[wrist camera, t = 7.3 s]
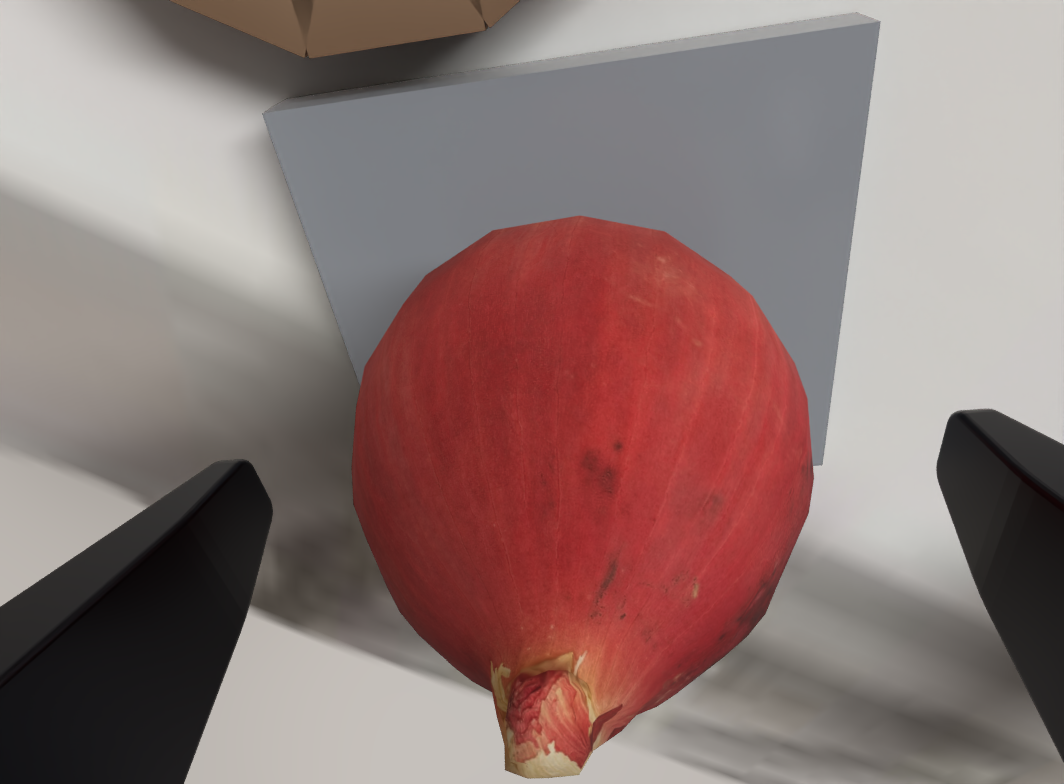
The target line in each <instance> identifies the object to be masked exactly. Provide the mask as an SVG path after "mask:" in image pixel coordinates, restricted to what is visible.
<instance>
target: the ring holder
mask: <svg viewBox="0 0 1064 784" xmlns="http://www.w3.org/2000/svg"><path fill="white" fill-rule="evenodd" d="M169 1H171V2H174V3H176V4H179V5H181V6H183V7H186V8H188V9H190V10H193V11H195V12H197V13H200V14H202V15H204V16H207V17H209V18H211V19H214V20H216V21H219V22H221V23H223V24H226V25H228V26H230V27H233V28H235V29H237V30H240V31H242V32H244V33H247V34H249V35H252V36H254V37H256V38H259V39H261V40H263V41H266V42H268V43H270V44H273V45H275V46H277V47H280V48H282V49H284V50H287V51H289V52H292V53H294V54H296V55H299V56H301V57H303V58H305V57H307V56H309V59H310V58H316V57H323V56H329V55H335V54H341V53H348V52H354V51H360V50H366V49H373V48H379V47H385V46H391V45H398V44H404V43H410V42H416V41H423V40H429V39H435V38H441V37H448V36H454V35H460V34H466V33H473V32H479V31H485V30H486V29H487V28H488V27H489V28H491V27H492V26H493V25H494V24H495V23H496V22H497V21H498V20H499V19H500V18H501V17H503V16H504V15H505V14H506V13H507V12H508V11H509V10H510V9H511V8H512V7H513V6H515V5H516V4H517V3H518V2H519V1H520V0H169Z"/></svg>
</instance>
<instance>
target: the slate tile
mask: <svg viewBox="0 0 1064 784" xmlns="http://www.w3.org/2000/svg"><path fill="white" fill-rule="evenodd" d="M879 29H880V21H878V20H876V19H873V18H870V17H868V16H865V15H862V14H860V13H857V12H856V13H850V14H843V15H837V16H830V17H823V18H817V19H810V20H803V21H797V22H790V23H784V24H777V25H770V26H764V27H757V28H751V29H744V30H737V31H731V32H724V33H718V34H711V35H704V36H698V37H691V38H685V39H678V40H671V41H665V42H658V43H652V44H645V45H638V46H632V47H625V48H619V49H612V50H605V51H599V52H592V53H586V54H579V55H572V56H566V57H559V58H553V59H546V60H539V61H533V62H526V63H520V64H513V65H506V66H500V67H493V68H487V69H480V70H473V71H467V72H460V73H454V74H447V75H440V76H434V77H427V78H421V79H414V80H407V81H401V82H394V83H388V84H381V85H374V86H368V87H361V88H355V89H348V90H341V91H335V92H328V93H322V94H315V95H308V96H302V97H295V98H289V99H285V100H283V101H282V102H280V103H278V104H277V105H275V106H273V107H272V108H270V109H269V110H267V111H265V112H264V113H262V115H263V117H264V120H265V123H266V126H267V129H268V131H269V134H270V137H271V140H272V143H273V145H274V148H275V151H276V154H277V156H278V159H279V162H280V165H281V168H282V170H283V173H284V176H285V179H286V182H287V184H288V187H289V190H290V193H291V195H292V198H293V201H294V204H295V207H296V209H297V212H298V215H299V218H300V221H301V223H302V226H303V229H304V232H305V234H306V237H307V240H308V243H309V246H310V248H311V251H312V254H313V257H314V259H315V262H316V265H317V268H318V271H319V273H320V276H321V279H322V282H323V285H324V287H325V290H326V293H327V296H328V298H329V301H330V304H331V307H332V310H333V312H334V315H335V318H336V321H337V324H338V326H339V329H340V332H341V335H342V337H343V340H344V343H345V346H346V349H347V351H348V354H349V357H350V360H351V363H352V365H353V368H354V371H355V374H356V376H357V379H358V382H359V385H360V386H361V382H362V377H363V372H364V367H365V365H366V363H367V362H368V360H369V358H370V357H371V355H372V354H373V352H374V350H375V349H376V347H377V345H378V344H379V342H380V341H381V339H382V337H383V336H384V334H385V333H386V331H387V329H388V328H389V326H390V324H391V323H392V321H393V320H394V318H395V316H396V315H397V313H398V311H399V310H400V308H401V307H402V305H403V304H404V302H405V301H406V300H407V298H408V297H409V296H410V295H411V293H412V292H413V291H414V289H415V288H416V287H417V286H418V284H419V283H420V282H421V281H422V279H423V278H424V277H425V275H427V274H428V273H430V272H431V271H433V270H434V269H436V268H437V267H439V266H440V265H442V264H443V263H445V262H446V261H448V260H449V259H451V258H452V257H454V256H455V255H457V254H458V253H460V252H461V251H463V250H464V249H465V248H467V247H468V246H470V245H471V244H473V243H474V242H476V241H477V240H479V239H480V238H482V237H483V236H485V235H486V234H488V233H489V232H491V231H492V230H497V229H503V228H509V227H515V226H521V225H527V224H532V223H538V222H544V221H550V220H556V219H562V218H568V217H574V216H586V217H591V218H596V219H602V220H607V221H612V222H618V223H623V224H628V225H634V226H639V227H644V228H649V229H655V230H660V231H665V232H667V233H668V234H670V235H671V236H672V237H674V238H675V239H677V240H678V241H680V242H681V243H683V244H684V245H686V246H687V247H689V248H690V249H692V250H693V251H695V252H696V253H697V254H699V255H700V256H702V257H703V258H705V259H706V260H708V261H709V262H711V263H712V264H714V265H715V266H717V267H718V268H719V269H721V270H722V271H724V272H725V273H727V274H728V275H730V276H731V277H732V278H733V279H734V280H735V281H736V282H738V283H739V284H740V285H741V286H742V287H743V288H744V289H745V290H747V291H748V292H749V293H750V294H751V295H752V296H753V297H754V299H755V300H756V302H757V304H758V305H759V307H760V308H761V310H762V312H763V313H764V315H765V316H766V318H767V320H768V321H769V323H770V324H771V326H772V328H773V329H774V331H775V332H776V334H777V336H778V337H779V339H780V340H781V342H782V344H783V345H784V347H785V348H786V350H787V352H788V353H789V355H790V356H791V358H792V359H793V361H794V363H795V365H796V368H797V371H798V374H799V376H800V379H801V382H802V385H803V387H804V390H805V393H806V396H807V399H808V411H809V424H810V437H811V449H812V462H813V466H818V465H822V464H823V456H824V448H825V441H826V433H827V426H828V418H829V410H830V403H831V395H832V387H833V380H834V372H835V365H836V357H837V349H838V342H839V334H840V326H841V319H842V311H843V303H844V296H845V288H846V281H847V273H848V265H849V258H850V250H851V242H852V235H853V227H854V220H855V212H856V204H857V197H858V189H859V181H860V174H861V166H862V158H863V151H864V143H865V136H866V128H867V120H868V113H869V105H870V97H871V90H872V82H873V75H874V67H875V59H876V52H877V44H878V36H879Z"/></svg>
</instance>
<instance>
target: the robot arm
mask: <svg viewBox="0 0 1064 784" xmlns="http://www.w3.org/2000/svg"><path fill="white" fill-rule="evenodd" d="M937 478H938V482H939V485H940V488H941V491H942V494H943V496H944V499H945V502H946V505H947V507H948V510H949V513H950V516H951V518H952V521H953V524H954V527H955V530H956V532H957V535H958V538H959V541H960V543H961V546H962V549H963V552H964V554H965V557H966V560H967V563H968V565H969V568H970V571H971V574H972V576H973V579H974V581H975V584H976V586H977V589H978V592H979V594H980V596H981V598H982V600H983V603H984V605H985V607H986V609H987V611H988V613H989V615H990V617H991V619H992V621H993V623H994V625H995V627H996V629H997V631H998V633H999V635H1000V637H1001V639H1002V641H1003V643H1004V645H1005V647H1006V649H1007V651H1008V653H1009V655H1010V657H1011V659H1012V661H1013V663H1014V665H1015V667H1016V669H1017V671H1018V673H1019V675H1020V677H1021V679H1022V681H1023V683H1024V685H1025V687H1026V689H1027V691H1028V693H1029V695H1030V697H1031V699H1032V701H1033V703H1034V704H1035V706H1036V708H1037V710H1038V712H1039V714H1040V716H1041V718H1042V720H1043V722H1044V724H1045V726H1046V728H1047V730H1048V732H1049V734H1050V736H1051V738H1052V740H1053V742H1054V744H1055V746H1056V748H1057V750H1058V752H1059V754H1060V756H1061V758H1062V760H1063V762H1064V445H1063V444H1061V443H1059V442H1057V441H1056V440H1054V439H1052V438H1050V437H1048V436H1046V435H1044V434H1042V433H1040V432H1038V431H1036V430H1034V429H1032V428H1030V427H1028V426H1026V425H1024V424H1022V423H1020V422H1018V421H1016V420H1014V419H1012V418H1010V417H1008V416H1006V415H1004V414H1002V413H1000V412H998V411H996V410H993V409H974V410H960V411H956V412H954V413H953V414H952V415H951V416H950V417H949V420H948V422H947V426H946V429H945V433H944V437H943V441H942V445H941V449H940V453H939V457H938V460H937ZM272 515H273V509H272V503H271V500H270V498H269V496H268V494H267V492H266V490H265V488H264V486H263V484H262V482H261V480H260V478H259V476H258V475H257V473H256V471H255V469H254V467H253V465H252V464H251V463H250V462H249V461H247V460H243V459H237V460H223V461H218V462H215V463H213V464H212V465H210V466H209V467H207V468H206V469H204V470H203V471H201V472H200V473H198V474H197V475H196V476H194V477H193V478H191V479H190V480H188V481H187V482H185V483H184V484H182V485H181V486H179V487H178V488H176V489H175V490H173V491H172V492H170V493H169V494H167V495H166V496H164V497H163V498H161V499H160V500H158V501H157V502H155V503H154V504H152V505H151V506H149V507H148V508H146V509H145V510H143V511H142V512H141V513H139V514H138V515H136V516H135V517H133V518H132V519H130V520H129V521H127V522H126V523H124V524H123V525H121V526H120V527H118V528H117V529H115V530H114V531H112V532H111V533H109V534H108V535H107V536H105V537H103V538H102V539H100V540H99V541H97V542H96V543H95V544H93V545H91V546H90V547H89V548H87V549H86V550H84V551H83V552H81V553H80V554H78V555H77V556H75V557H74V558H72V559H71V560H69V561H68V562H66V563H65V564H63V565H62V566H60V567H59V568H57V569H56V570H54V571H53V572H51V573H50V574H48V575H47V576H45V577H44V578H42V579H41V580H39V581H38V582H37V583H35V584H34V585H32V586H31V587H29V588H28V589H26V590H25V591H23V592H22V593H20V594H19V595H17V596H16V597H14V598H13V599H11V600H10V601H8V602H7V603H5V604H4V605H2V606H1V607H0V784H184V782H185V779H186V777H187V774H188V771H189V768H190V766H191V763H192V761H193V758H194V755H195V753H196V750H197V747H198V745H199V742H200V739H201V737H202V734H203V731H204V729H205V726H206V723H207V721H208V718H209V715H210V713H211V710H212V707H213V705H214V702H215V699H216V696H217V694H218V691H219V689H220V686H221V683H222V681H223V678H224V675H225V673H226V670H227V668H228V665H229V662H230V660H231V657H232V654H233V652H234V649H235V646H236V644H237V641H238V638H239V636H240V633H241V630H242V627H243V624H244V621H245V618H246V615H247V612H248V608H249V605H250V602H251V598H252V594H253V590H254V587H255V583H256V579H257V575H258V571H259V567H260V564H261V560H262V556H263V552H264V548H265V544H266V540H267V537H268V533H269V529H270V525H271V521H272Z"/></svg>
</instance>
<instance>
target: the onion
mask: <svg viewBox="0 0 1064 784" xmlns="http://www.w3.org/2000/svg"><path fill="white" fill-rule="evenodd" d="M813 480H814V474H813V462H812V449H811V437H810V424H809V411H808V399H807V396H806V393H805V390H804V387H803V385H802V382H801V379H800V376H799V374H798V371H797V368H796V365H795V363H794V361H793V359H792V358H791V356H790V355H789V353H788V352H787V350H786V348H785V347H784V345H783V344H782V342H781V340H780V339H779V337H778V336H777V334H776V332H775V331H774V329H773V328H772V326H771V324H770V323H769V321H768V320H767V318H766V316H765V315H764V313H763V312H762V310H761V308H760V307H759V305H758V304H757V302H756V300H755V299H754V297H753V296H752V295H751V294H750V293H749V292H748V291H747V290H745V289H744V288H743V287H742V286H741V285H740V284H739V283H738V282H736V281H735V280H734V279H733V278H732V277H731V276H730V275H728V274H727V273H725V272H724V271H722V270H721V269H719V268H718V267H717V266H715V265H714V264H712V263H711V262H709V261H708V260H706V259H705V258H703V257H702V256H700V255H699V254H697V253H696V252H695V251H693V250H692V249H690V248H689V247H687V246H686V245H684V244H683V243H681V242H680V241H678V240H677V239H675V238H674V237H672V236H671V235H670V234H668V233H667V232H665V231H660V230H655V229H649V228H644V227H639V226H634V225H628V224H623V223H618V222H612V221H607V220H602V219H596V218H591V217H586V216H574V217H568V218H562V219H556V220H550V221H544V222H538V223H532V224H527V225H521V226H515V227H509V228H503V229H497V230H492V231H491V232H489V233H488V234H486V235H485V236H483V237H482V238H480V239H479V240H477V241H476V242H474V243H473V244H471V245H470V246H468V247H467V248H465V249H464V250H463V251H461V252H460V253H458V254H457V255H455V256H454V257H452V258H451V259H449V260H448V261H446V262H445V263H443V264H442V265H440V266H439V267H437V268H436V269H434V270H433V271H431V272H430V273H428V274H427V275H425V277H424V278H423V279H422V281H421V282H420V283H419V284H418V286H417V287H416V288H415V289H414V291H413V292H412V293H411V295H410V296H409V297H408V298H407V300H406V301H405V302H404V304H403V305H402V307H401V308H400V310H399V311H398V313H397V315H396V316H395V318H394V320H393V321H392V323H391V324H390V326H389V328H388V329H387V331H386V333H385V334H384V336H383V337H382V339H381V341H380V342H379V344H378V345H377V347H376V349H375V350H374V352H373V354H372V355H371V357H370V358H369V360H368V362H367V363H366V365H365V367H364V372H363V377H362V382H361V386H360V391H359V396H358V401H357V406H356V416H355V429H354V443H353V456H352V485H353V504H354V507H355V510H356V512H357V515H358V518H359V521H360V523H361V526H362V529H363V532H364V534H365V537H366V539H367V542H368V544H369V546H370V549H371V551H372V553H373V555H374V558H375V560H376V562H377V565H378V567H379V569H380V572H381V574H382V576H383V579H384V581H385V583H386V585H387V588H388V590H389V592H390V594H391V596H392V597H393V599H394V601H395V603H396V605H397V607H398V609H399V611H400V613H401V614H402V615H403V616H404V618H405V619H406V620H407V621H408V622H409V624H410V625H411V626H412V627H413V628H414V630H415V631H416V632H417V633H418V634H419V636H421V637H422V638H423V639H424V640H425V641H426V642H427V643H428V644H429V645H430V646H432V647H433V648H434V649H435V650H436V651H437V652H438V653H439V654H440V655H441V656H443V657H444V658H445V659H446V660H447V661H448V662H449V663H450V664H451V665H452V666H454V667H455V668H456V669H457V670H458V671H460V672H461V673H462V674H464V675H465V676H466V677H468V678H469V679H470V680H471V681H473V682H475V683H476V684H478V685H480V686H482V687H484V688H485V689H487V690H489V691H491V692H492V694H493V699H494V704H495V709H496V714H497V718H498V722H499V726H500V730H501V733H502V737H503V741H504V745H505V770H506V771H509V772H512V773H514V774H517V775H520V776H522V777H525V778H552V777H563V776H573V775H579V774H580V772H581V771H582V769H583V767H584V766H585V763H586V762H587V760H588V759H589V757H590V755H591V754H592V752H593V750H595V749H596V748H598V747H599V746H601V745H602V744H603V743H605V742H606V741H608V740H609V739H611V738H612V737H614V736H615V735H617V734H618V733H619V732H621V731H622V730H623V729H624V728H625V727H626V726H627V724H628V723H629V722H630V721H631V720H632V719H633V718H634V717H635V716H636V715H638V714H640V713H643V712H645V711H647V710H650V709H652V708H655V707H657V706H658V705H660V704H662V703H663V702H665V701H666V700H668V699H669V698H671V697H672V696H674V695H675V694H676V693H678V692H679V691H680V690H682V689H683V688H684V687H685V686H687V685H688V684H689V683H691V682H692V681H693V680H694V679H696V678H697V677H698V676H700V675H701V674H702V673H704V672H705V671H706V670H707V669H709V668H710V667H711V666H713V665H714V664H715V663H716V662H718V661H719V660H720V659H722V658H723V657H724V656H725V655H726V654H728V653H729V652H730V651H731V650H732V649H733V648H734V647H735V646H737V645H738V644H739V643H740V642H741V641H742V640H743V639H745V638H746V637H747V636H748V635H749V633H750V632H751V631H752V630H753V628H754V627H755V626H756V625H757V623H758V622H759V621H760V620H761V619H762V617H763V616H764V615H765V613H766V611H767V609H768V606H769V604H770V601H771V599H772V597H773V594H774V592H775V589H776V587H777V585H778V582H779V580H780V578H781V575H782V573H783V571H784V568H785V566H786V564H787V562H788V559H789V557H790V555H791V552H792V550H793V548H794V546H795V543H796V541H797V539H798V536H799V534H800V532H801V530H802V527H803V525H804V523H805V520H806V518H807V516H808V513H809V507H810V500H811V493H812V487H813Z"/></svg>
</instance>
